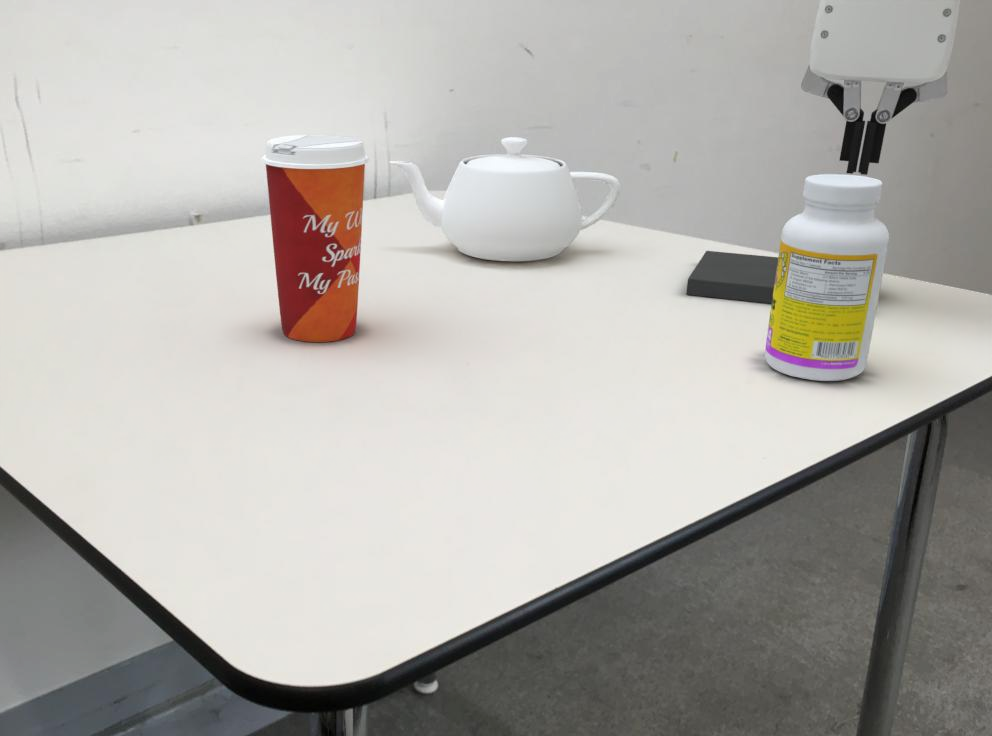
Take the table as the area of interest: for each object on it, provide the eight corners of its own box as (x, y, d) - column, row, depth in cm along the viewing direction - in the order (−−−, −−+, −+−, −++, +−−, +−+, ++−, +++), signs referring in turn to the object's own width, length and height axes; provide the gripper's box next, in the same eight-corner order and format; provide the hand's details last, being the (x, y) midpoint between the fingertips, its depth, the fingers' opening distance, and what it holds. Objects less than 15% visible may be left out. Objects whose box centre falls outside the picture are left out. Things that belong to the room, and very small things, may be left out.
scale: (877, 282, 97) (883, 248, 95) (876, 315, 87) (883, 278, 86) (704, 265, 102) (708, 233, 101) (685, 294, 93) (690, 259, 91)
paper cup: (324, 353, 78) (320, 152, 72) (246, 333, 82) (237, 141, 76) (391, 328, 83) (392, 139, 78) (315, 310, 88) (311, 130, 82)
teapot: (604, 237, 112) (613, 128, 108) (626, 270, 100) (637, 150, 95) (390, 234, 113) (391, 126, 109) (385, 267, 100) (386, 147, 96)
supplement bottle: (792, 346, 80) (820, 167, 75) (881, 368, 75) (918, 179, 70) (744, 366, 76) (770, 178, 70) (835, 391, 71) (871, 193, 66)
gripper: (1010, -77, 82) (955, 171, 90) (801, -77, 87) (766, 157, 95) (1020, -80, 76) (960, 187, 83) (794, -80, 81) (757, 171, 88)
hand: (857, 171), depth 89 cm, fingers closed
